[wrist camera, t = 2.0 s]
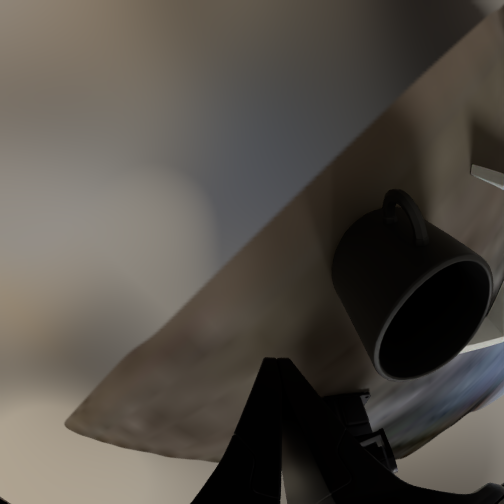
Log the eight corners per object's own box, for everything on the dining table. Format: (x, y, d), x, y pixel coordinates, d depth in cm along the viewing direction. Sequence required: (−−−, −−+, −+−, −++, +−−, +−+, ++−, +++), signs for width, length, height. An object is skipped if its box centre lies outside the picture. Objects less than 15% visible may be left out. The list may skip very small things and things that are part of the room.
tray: (487, 322, 25) (504, 341, 21) (418, 331, 24) (437, 358, 20) (531, 196, 18) (556, 208, 14) (472, 164, 17) (506, 174, 13)
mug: (415, 160, 17) (500, 186, 9) (428, 284, 22) (481, 342, 14) (306, 196, 18) (354, 248, 10) (342, 322, 23) (376, 400, 15)
